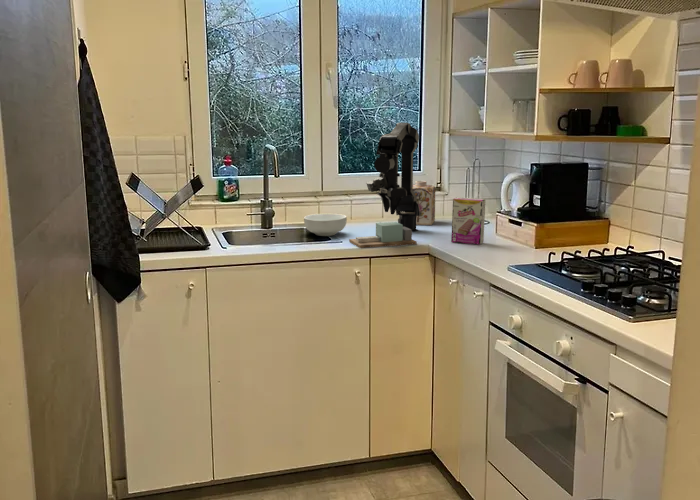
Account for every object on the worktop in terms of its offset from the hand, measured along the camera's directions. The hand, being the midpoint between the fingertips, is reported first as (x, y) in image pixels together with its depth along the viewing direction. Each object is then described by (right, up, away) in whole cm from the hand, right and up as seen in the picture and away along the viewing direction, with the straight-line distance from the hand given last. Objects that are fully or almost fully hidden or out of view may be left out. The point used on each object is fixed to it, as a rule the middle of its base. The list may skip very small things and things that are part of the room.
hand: (389, 213), depth 262 cm
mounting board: (-2, -11, +1) cm, 11 cm away
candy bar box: (+29, -11, +2) cm, 31 cm away
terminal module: (0, -10, +2) cm, 10 cm away
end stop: (+6, -10, +4) cm, 13 cm away
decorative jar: (+16, -2, +45) cm, 48 cm away
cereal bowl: (-24, -7, +19) cm, 32 cm away
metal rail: (-2, -11, +1) cm, 11 cm away
